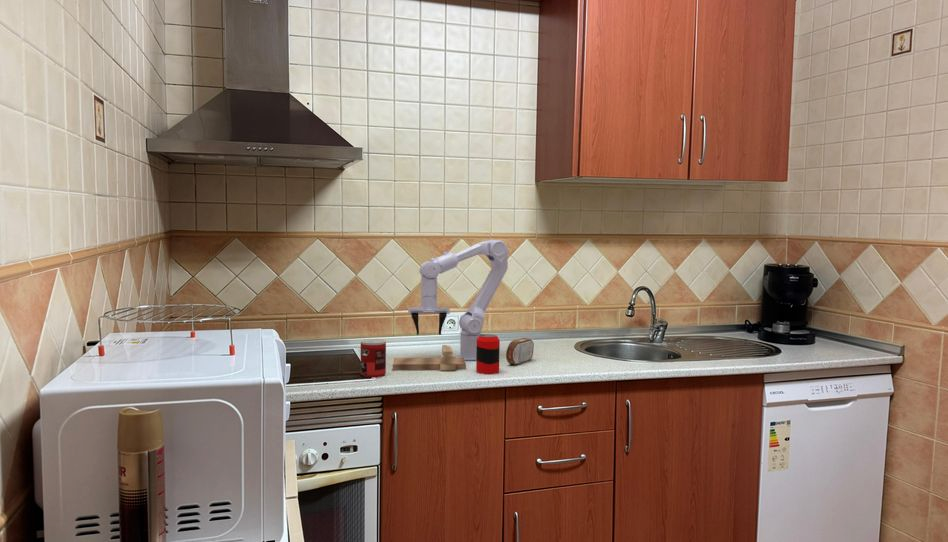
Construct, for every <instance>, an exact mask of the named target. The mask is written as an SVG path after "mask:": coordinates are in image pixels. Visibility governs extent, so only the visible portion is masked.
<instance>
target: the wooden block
mask: <svg viewBox="0 0 948 542" xmlns="http://www.w3.org/2000/svg"><path fill="white" fill-rule="evenodd" d="M441 347H442V348H441V355H439V356H440V357H439V358H440V370H439V371H457V370H456V358H457V356H456V355H453V354H454V351H453V348H452V345H451V344H442V346H441Z"/></svg>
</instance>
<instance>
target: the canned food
mask: <svg viewBox="0 0 948 542" xmlns="http://www.w3.org/2000/svg"><path fill="white" fill-rule="evenodd" d="M386 373H387V342H386V340H385V339H382V338H366V339H365V338H364V339H362V340H360V375H361V376H362V375H363V376H366V377H365V378H369V377H375V378H381V377H384V376H385V375H386ZM363 376H362V377H363Z"/></svg>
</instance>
